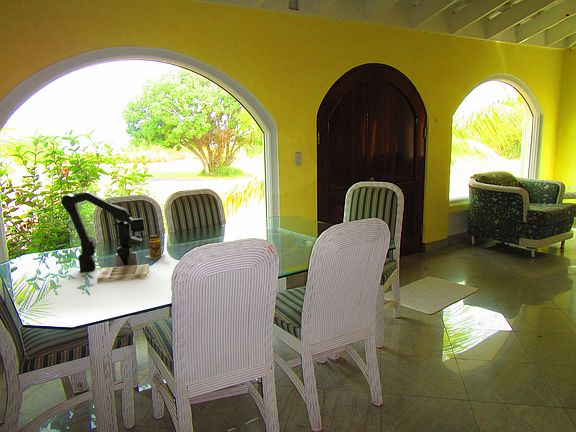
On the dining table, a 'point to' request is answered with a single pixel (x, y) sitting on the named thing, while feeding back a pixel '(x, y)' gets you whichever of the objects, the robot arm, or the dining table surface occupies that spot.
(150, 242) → the condiment
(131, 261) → the panel
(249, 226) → the dining table surface
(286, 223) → the dining table surface
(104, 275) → the rack
